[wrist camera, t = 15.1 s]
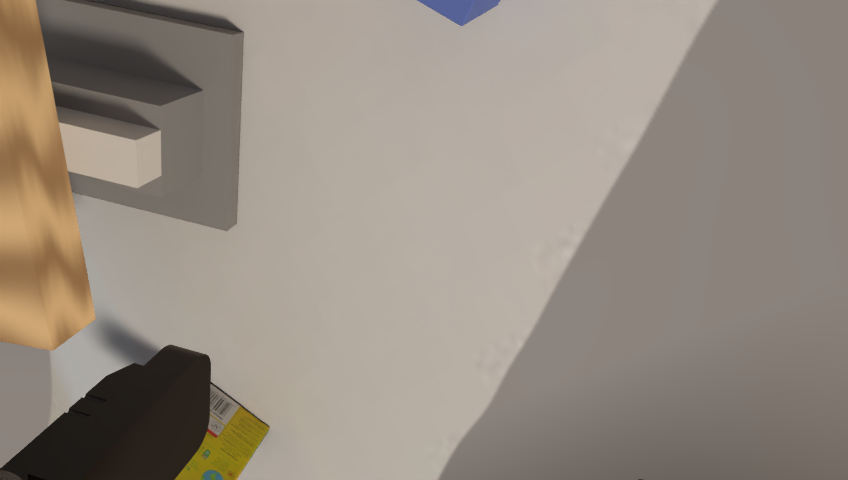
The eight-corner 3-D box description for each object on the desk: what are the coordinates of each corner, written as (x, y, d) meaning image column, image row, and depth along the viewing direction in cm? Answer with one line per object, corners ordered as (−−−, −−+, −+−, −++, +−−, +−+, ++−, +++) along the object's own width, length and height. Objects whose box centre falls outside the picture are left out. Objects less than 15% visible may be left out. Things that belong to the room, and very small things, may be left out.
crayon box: (188, 395, 59) (99, 491, 49) (203, 375, 58) (115, 470, 47) (255, 446, 59) (182, 553, 49) (272, 428, 58) (200, 533, 48)
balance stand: (6, -17, 47) (-115, -9, 39) (243, 32, 45) (165, 51, 37) (26, 171, 53) (-76, 211, 45) (236, 223, 51) (168, 276, 43)
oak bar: (95, 318, 46) (52, 350, 42) (44, 310, 46) (-2, 340, 43) (21, -75, 36) (-43, -77, 32) (-42, -77, 37) (-111, -79, 33)
